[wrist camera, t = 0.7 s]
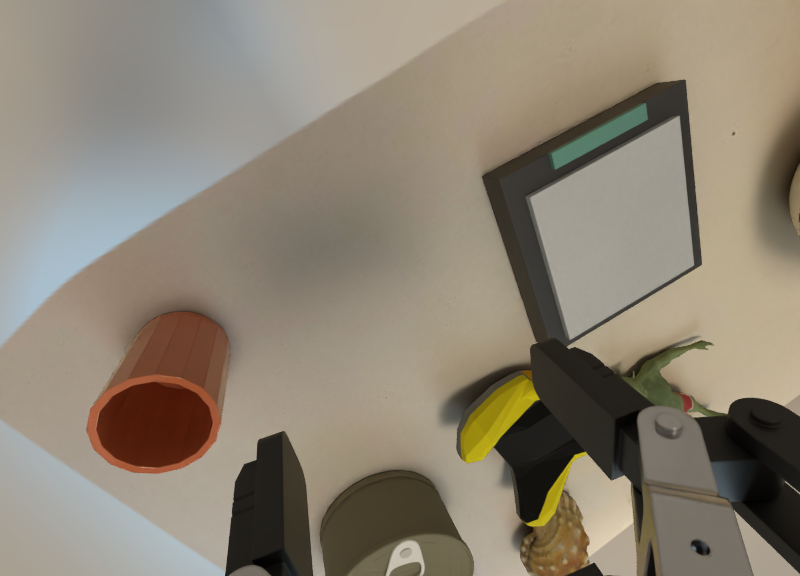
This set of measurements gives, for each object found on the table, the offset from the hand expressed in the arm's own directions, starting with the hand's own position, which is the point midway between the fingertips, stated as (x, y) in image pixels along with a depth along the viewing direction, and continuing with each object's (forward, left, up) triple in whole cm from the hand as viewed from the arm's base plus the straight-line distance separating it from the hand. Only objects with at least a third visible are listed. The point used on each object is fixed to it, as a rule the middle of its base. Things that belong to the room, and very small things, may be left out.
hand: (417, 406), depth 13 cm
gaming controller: (+23, +7, -18) cm, 30 cm away
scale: (+8, +20, -18) cm, 28 cm away
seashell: (+40, +6, -18) cm, 44 cm away
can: (+25, -8, -18) cm, 32 cm away
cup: (+1, -12, -18) cm, 21 cm away
